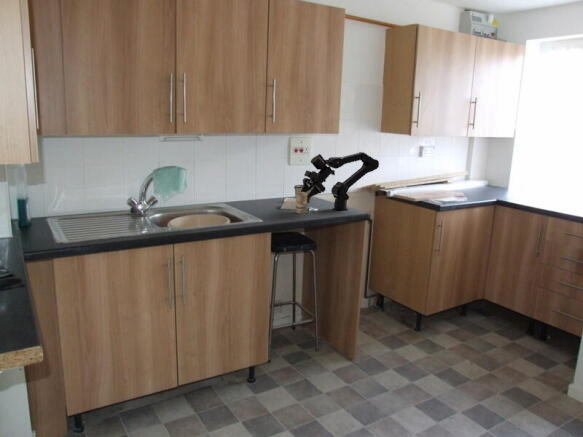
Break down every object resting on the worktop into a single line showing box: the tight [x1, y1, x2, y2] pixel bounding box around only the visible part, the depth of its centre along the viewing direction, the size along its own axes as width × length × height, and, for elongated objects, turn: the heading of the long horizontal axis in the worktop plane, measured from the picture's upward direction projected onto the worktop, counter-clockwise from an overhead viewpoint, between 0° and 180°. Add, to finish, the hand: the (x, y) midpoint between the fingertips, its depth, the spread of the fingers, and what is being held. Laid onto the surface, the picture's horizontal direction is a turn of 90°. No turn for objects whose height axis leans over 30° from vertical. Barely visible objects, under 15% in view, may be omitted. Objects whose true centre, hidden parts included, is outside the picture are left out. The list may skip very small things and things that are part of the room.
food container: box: [293, 184, 312, 204], centre depth 298 cm, size 12×6×10 cm, turn 66°
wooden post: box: [295, 192, 308, 214], centre depth 265 cm, size 5×5×11 cm
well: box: [280, 197, 296, 211], centre depth 279 cm, size 12×12×4 cm
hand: (303, 195), depth 265 cm, fingers open, 9 cm apart
